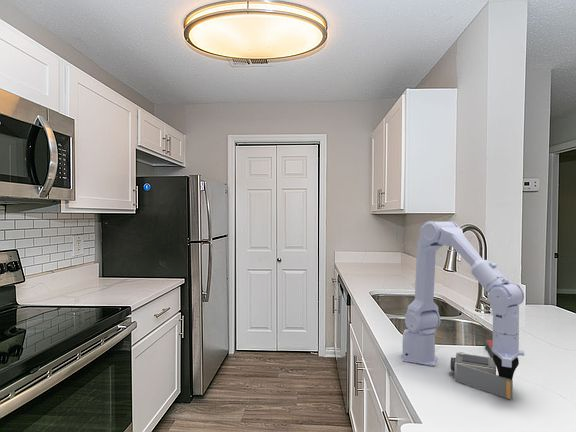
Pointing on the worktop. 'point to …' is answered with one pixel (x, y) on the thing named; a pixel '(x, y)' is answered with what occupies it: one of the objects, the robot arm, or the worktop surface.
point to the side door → (484, 380)
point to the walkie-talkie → (489, 347)
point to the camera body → (474, 362)
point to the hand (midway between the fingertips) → (505, 386)
